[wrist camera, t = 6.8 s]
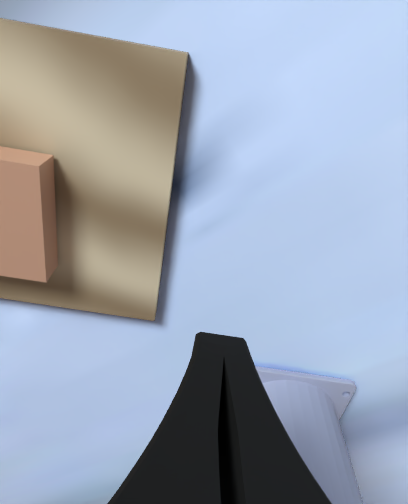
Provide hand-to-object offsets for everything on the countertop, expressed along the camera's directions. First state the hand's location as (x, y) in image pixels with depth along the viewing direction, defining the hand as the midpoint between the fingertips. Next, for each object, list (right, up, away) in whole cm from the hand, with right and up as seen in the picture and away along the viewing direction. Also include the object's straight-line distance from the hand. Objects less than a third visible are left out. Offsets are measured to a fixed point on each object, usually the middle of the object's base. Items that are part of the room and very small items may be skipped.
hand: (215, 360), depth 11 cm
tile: (-8, +4, +7) cm, 11 cm away
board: (-8, +6, +8) cm, 13 cm away
